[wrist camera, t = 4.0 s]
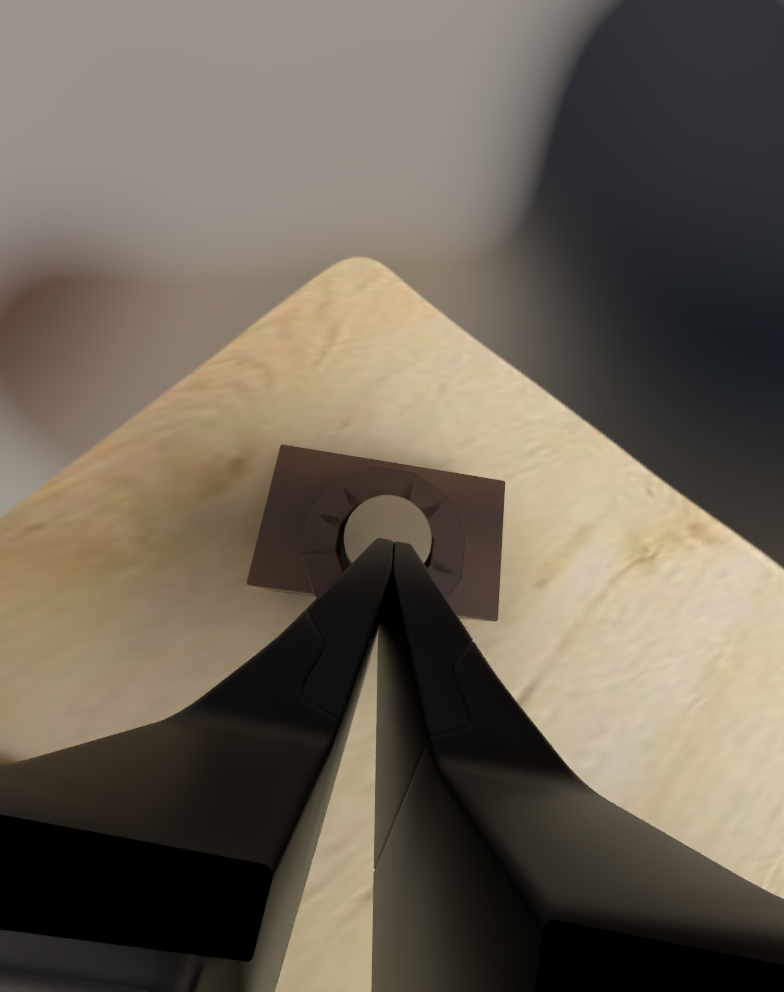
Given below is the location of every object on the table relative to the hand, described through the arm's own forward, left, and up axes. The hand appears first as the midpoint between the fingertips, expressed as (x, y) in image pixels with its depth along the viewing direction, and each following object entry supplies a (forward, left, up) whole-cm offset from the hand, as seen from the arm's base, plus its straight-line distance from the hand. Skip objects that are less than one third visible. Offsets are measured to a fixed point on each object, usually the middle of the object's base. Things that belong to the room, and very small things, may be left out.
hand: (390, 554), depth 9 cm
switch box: (+2, -1, -11) cm, 11 cm away
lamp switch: (+1, 0, -4) cm, 4 cm away
